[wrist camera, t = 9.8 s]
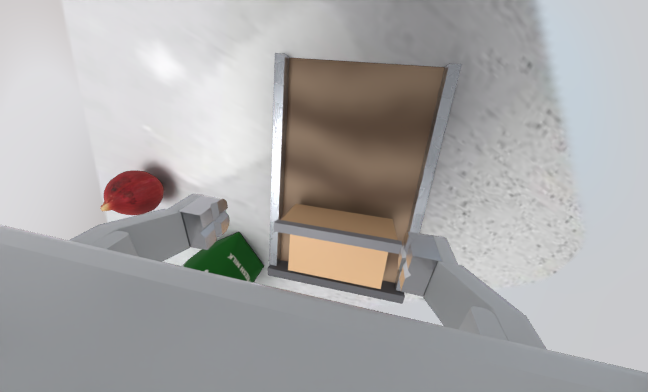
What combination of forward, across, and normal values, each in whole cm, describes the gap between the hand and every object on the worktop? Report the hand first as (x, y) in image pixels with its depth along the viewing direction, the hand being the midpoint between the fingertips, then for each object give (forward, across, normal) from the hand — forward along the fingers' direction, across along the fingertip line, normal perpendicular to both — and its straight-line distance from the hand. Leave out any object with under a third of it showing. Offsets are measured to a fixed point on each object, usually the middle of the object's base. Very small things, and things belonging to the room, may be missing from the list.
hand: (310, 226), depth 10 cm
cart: (+14, 0, +12) cm, 19 cm away
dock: (+17, 0, +5) cm, 18 cm away
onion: (+17, +27, +10) cm, 34 cm away
